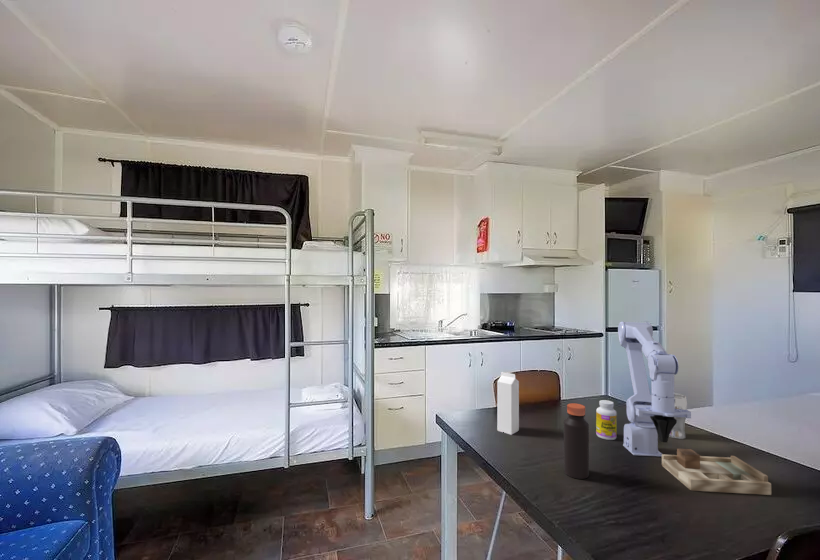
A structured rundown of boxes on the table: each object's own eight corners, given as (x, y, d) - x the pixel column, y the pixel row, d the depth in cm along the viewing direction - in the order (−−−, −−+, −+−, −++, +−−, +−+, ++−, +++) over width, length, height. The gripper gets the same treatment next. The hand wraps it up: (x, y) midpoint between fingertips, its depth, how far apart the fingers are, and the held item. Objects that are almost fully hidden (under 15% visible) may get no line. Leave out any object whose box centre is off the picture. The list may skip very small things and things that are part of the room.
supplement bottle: (598, 439, 135) (598, 403, 135) (594, 432, 142) (594, 398, 142) (619, 441, 134) (619, 405, 134) (613, 434, 140) (613, 399, 140)
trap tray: (690, 490, 102) (690, 473, 102) (661, 465, 116) (661, 451, 116) (771, 494, 100) (771, 477, 100) (731, 469, 114) (731, 454, 114)
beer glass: (687, 441, 134) (686, 399, 134) (663, 436, 138) (663, 395, 138) (687, 435, 140) (687, 394, 140) (664, 430, 144) (664, 391, 144)
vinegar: (574, 481, 107) (574, 410, 107) (558, 469, 113) (558, 403, 114) (594, 477, 109) (594, 408, 109) (577, 466, 115) (577, 401, 115)
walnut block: (685, 468, 109) (685, 454, 109) (677, 461, 113) (676, 448, 113) (700, 469, 109) (699, 455, 109) (691, 462, 113) (691, 449, 113)
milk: (511, 435, 139) (511, 375, 139) (497, 430, 143) (497, 373, 143) (519, 430, 144) (519, 372, 144) (504, 426, 148) (504, 370, 148)
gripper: (644, 398, 109) (644, 445, 109) (697, 400, 107) (698, 447, 107) (632, 391, 116) (632, 435, 116) (682, 392, 114) (682, 437, 114)
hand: (663, 440), depth 112 cm, fingers closed
